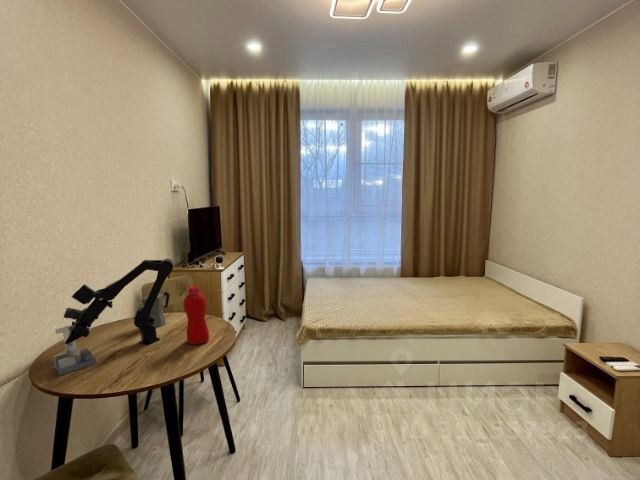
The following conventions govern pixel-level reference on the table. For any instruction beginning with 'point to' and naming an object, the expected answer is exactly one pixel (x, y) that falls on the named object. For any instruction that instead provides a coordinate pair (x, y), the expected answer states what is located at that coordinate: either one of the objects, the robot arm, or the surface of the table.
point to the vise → (73, 361)
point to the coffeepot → (158, 309)
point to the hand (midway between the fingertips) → (65, 342)
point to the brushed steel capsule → (66, 333)
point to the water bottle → (196, 317)
